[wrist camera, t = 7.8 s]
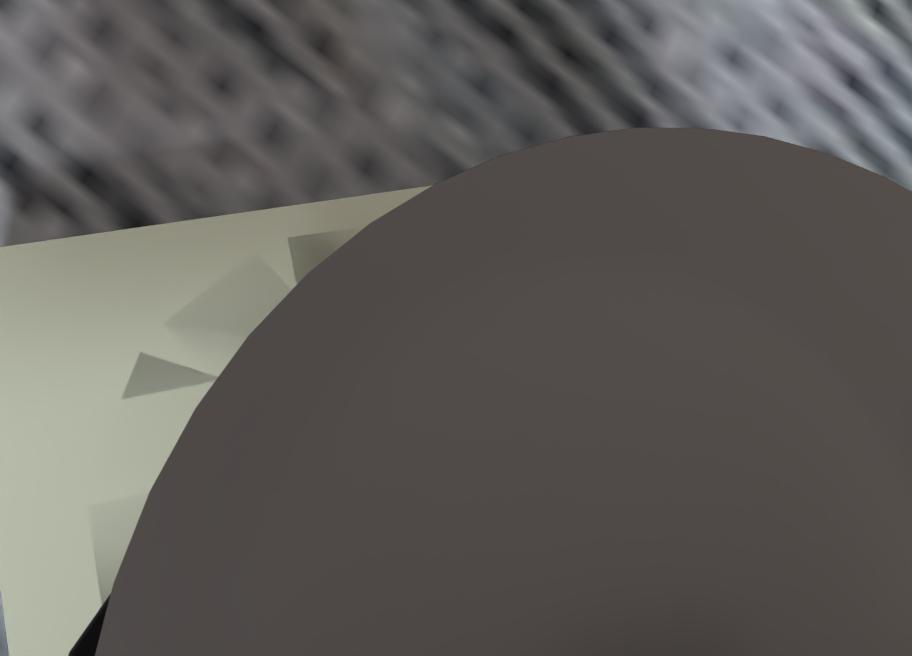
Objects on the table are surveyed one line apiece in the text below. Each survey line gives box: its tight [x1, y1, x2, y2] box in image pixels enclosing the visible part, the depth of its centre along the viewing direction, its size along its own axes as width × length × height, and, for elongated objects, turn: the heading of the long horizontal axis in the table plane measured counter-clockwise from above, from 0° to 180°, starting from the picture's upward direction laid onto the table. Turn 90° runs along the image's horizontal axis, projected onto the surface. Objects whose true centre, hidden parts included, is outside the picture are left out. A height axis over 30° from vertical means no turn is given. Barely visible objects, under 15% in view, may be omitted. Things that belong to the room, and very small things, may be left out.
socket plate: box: [0, 185, 433, 656], centre depth 16 cm, size 19×16×2 cm
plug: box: [95, 128, 912, 656], centre depth 9 cm, size 5×5×13 cm
